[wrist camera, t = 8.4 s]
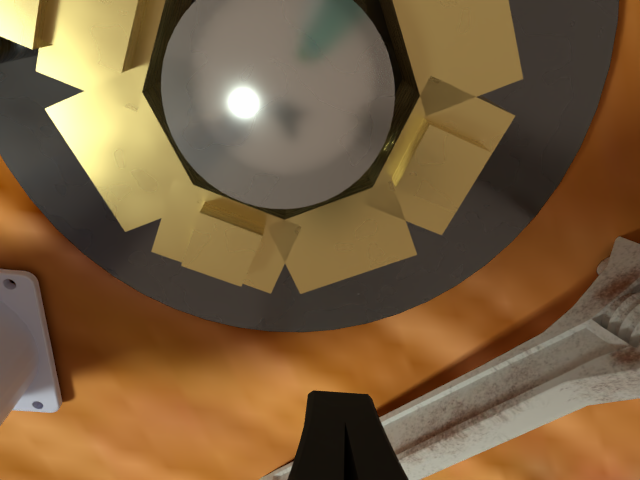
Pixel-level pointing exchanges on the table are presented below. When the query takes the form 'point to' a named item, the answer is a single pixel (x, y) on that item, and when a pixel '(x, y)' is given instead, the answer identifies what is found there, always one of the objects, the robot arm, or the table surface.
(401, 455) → the wrench
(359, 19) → the cap base
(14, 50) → the stop pin
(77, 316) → the table surface
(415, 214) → the golden segmented ring
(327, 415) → the robot arm
